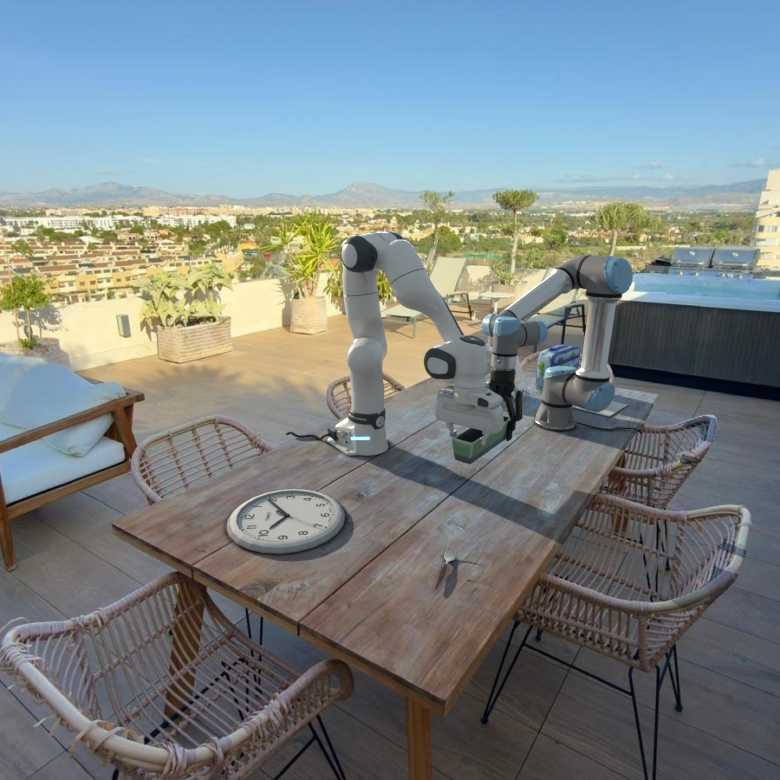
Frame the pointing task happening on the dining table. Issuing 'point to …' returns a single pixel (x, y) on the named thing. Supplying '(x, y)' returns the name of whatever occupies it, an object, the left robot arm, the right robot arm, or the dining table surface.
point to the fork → (448, 558)
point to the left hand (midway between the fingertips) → (467, 440)
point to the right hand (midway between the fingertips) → (497, 436)
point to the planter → (476, 443)
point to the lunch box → (556, 360)
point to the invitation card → (608, 409)
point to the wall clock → (285, 521)
